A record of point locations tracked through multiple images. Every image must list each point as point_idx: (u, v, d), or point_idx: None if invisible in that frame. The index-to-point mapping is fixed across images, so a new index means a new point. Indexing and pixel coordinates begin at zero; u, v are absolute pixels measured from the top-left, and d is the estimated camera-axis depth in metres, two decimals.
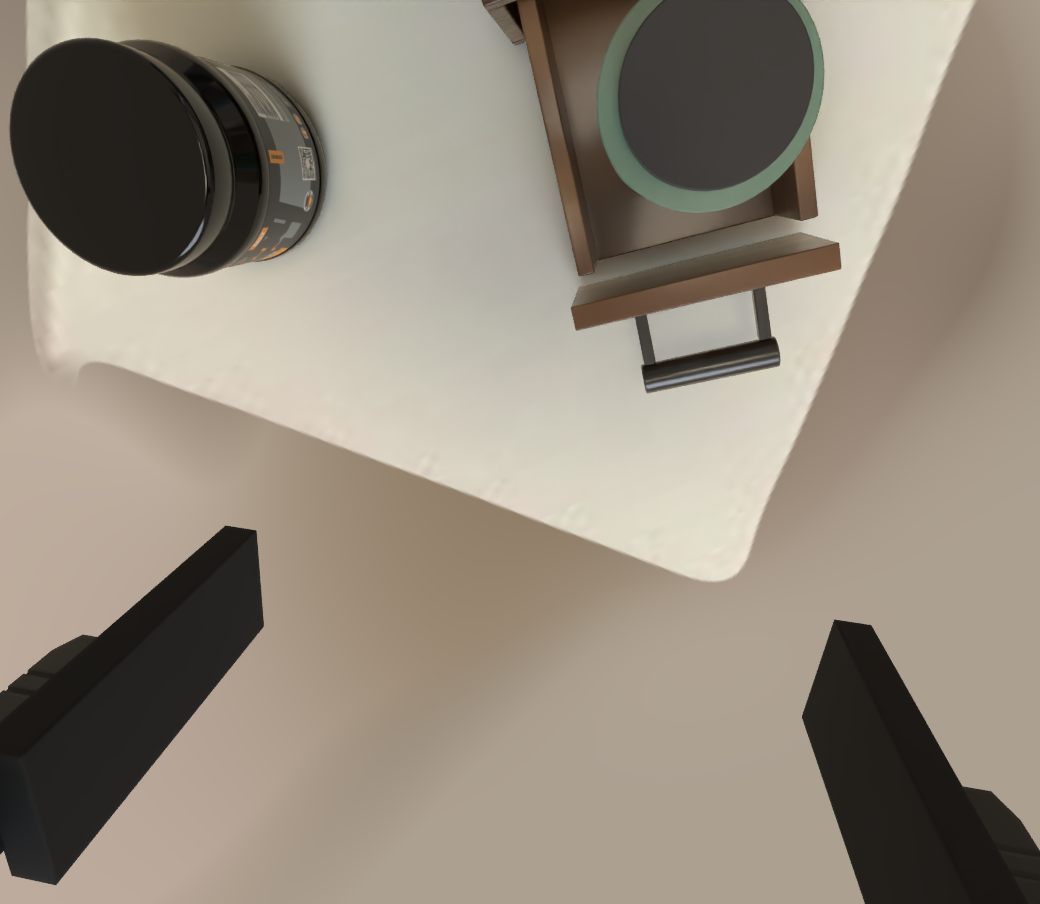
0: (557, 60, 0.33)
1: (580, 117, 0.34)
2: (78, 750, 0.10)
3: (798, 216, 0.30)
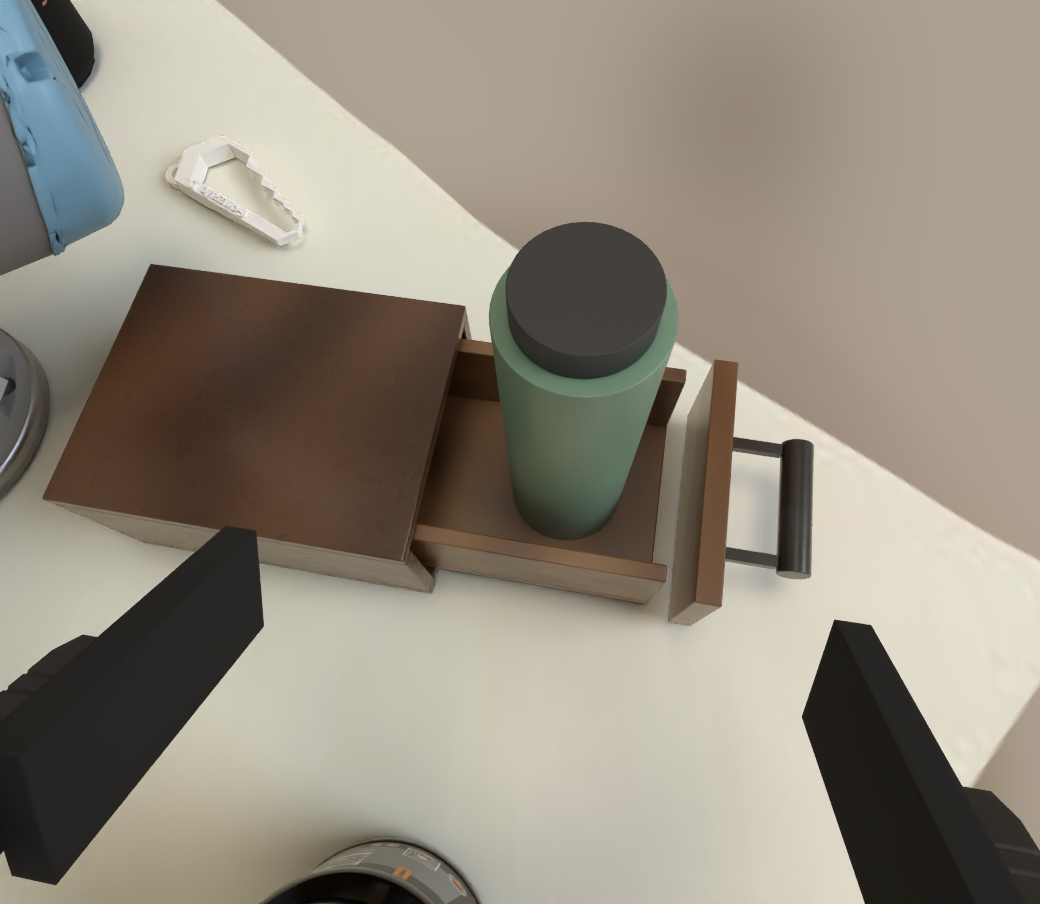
0: None
1: None
2: (79, 750, 0.10)
3: (680, 383, 0.33)
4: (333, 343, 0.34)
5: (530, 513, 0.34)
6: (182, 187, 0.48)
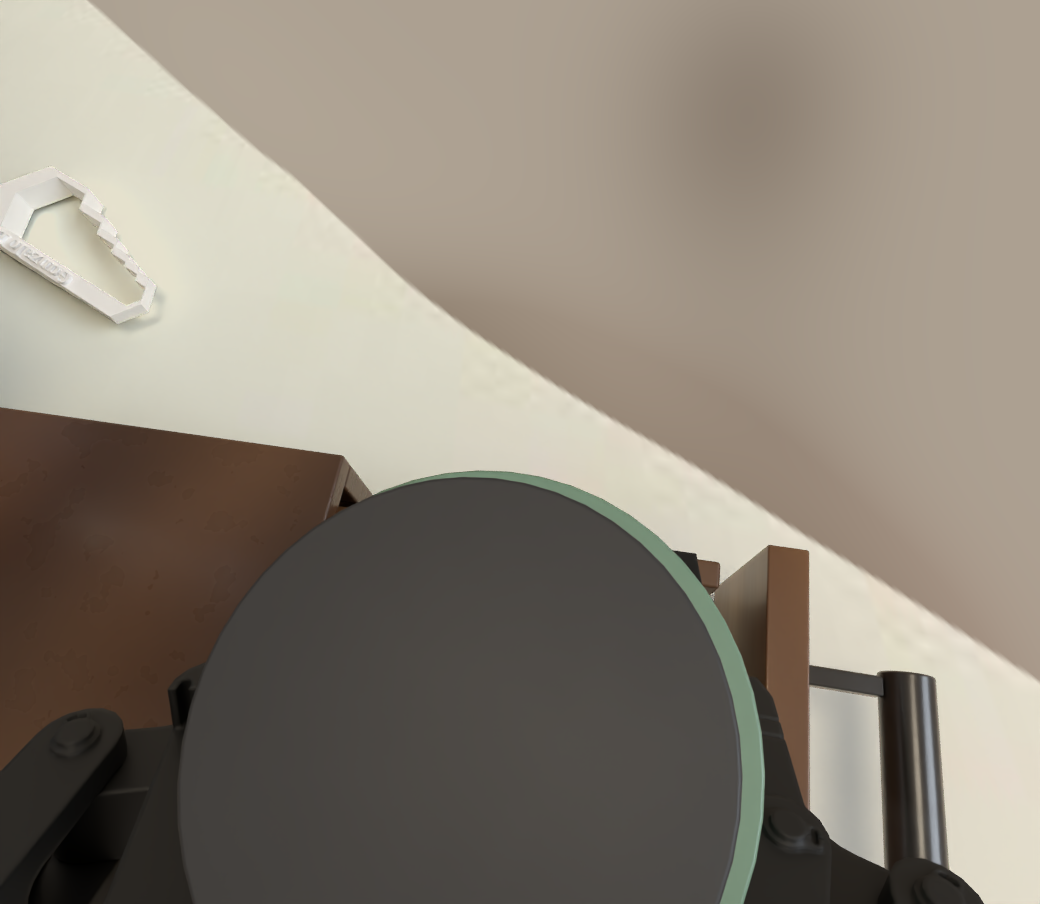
0: None
1: None
2: None
3: (711, 588, 0.19)
4: (114, 527, 0.20)
5: None
6: None
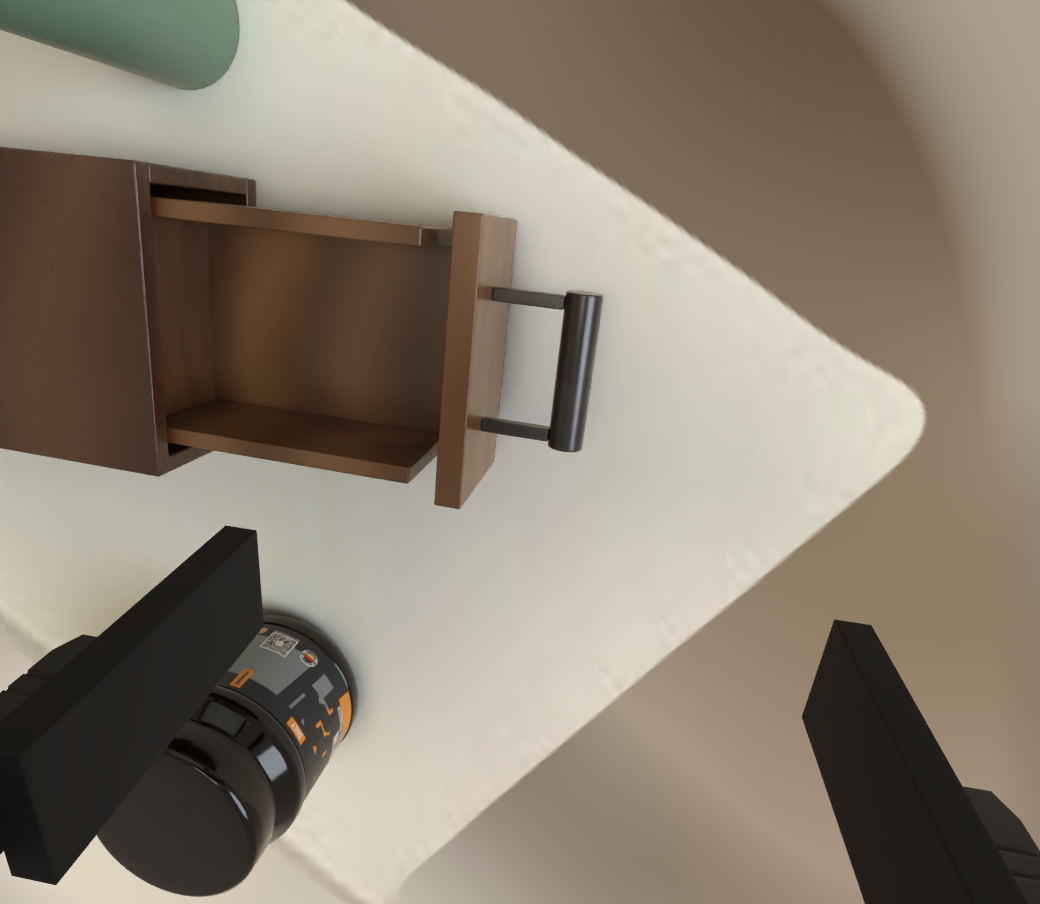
0: (267, 404, 0.36)
1: (316, 402, 0.35)
2: (79, 750, 0.10)
3: (416, 246, 0.26)
4: (12, 230, 0.28)
5: None
6: None
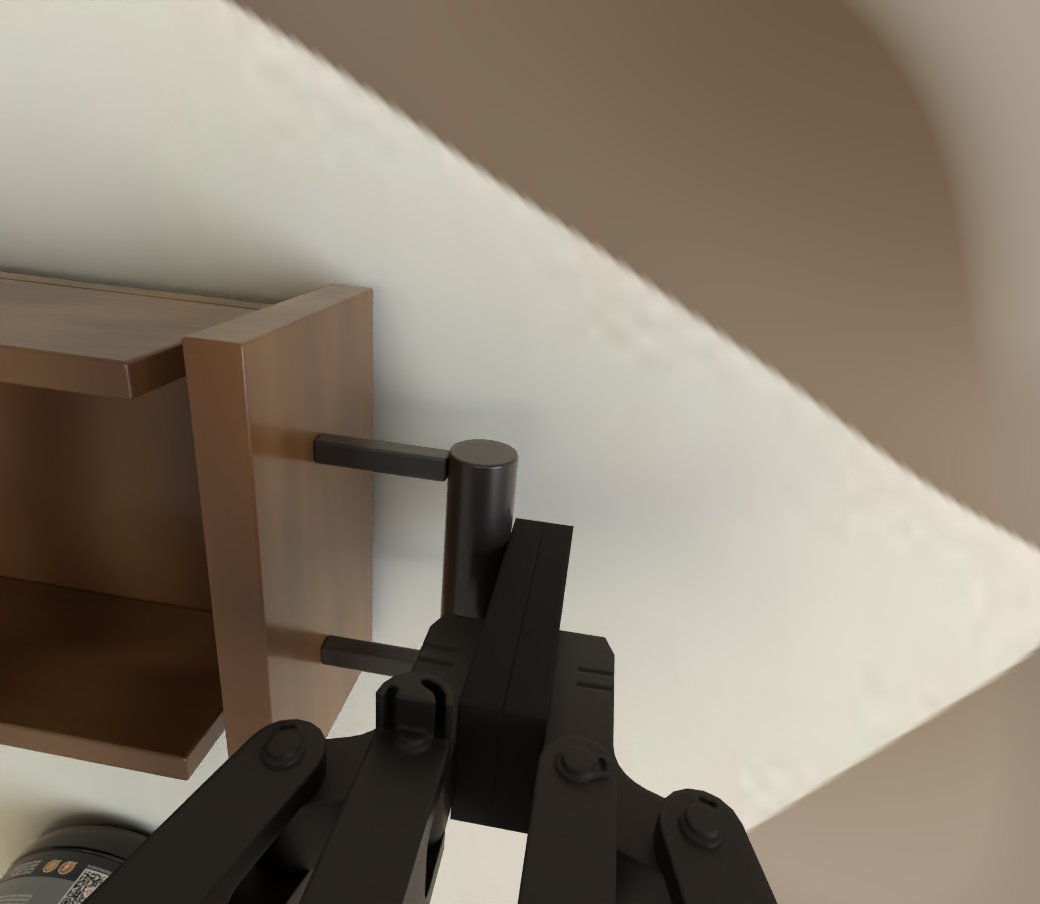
0: (4, 574, 0.22)
1: (79, 572, 0.22)
2: None
3: (125, 398, 0.13)
4: None
5: None
6: None
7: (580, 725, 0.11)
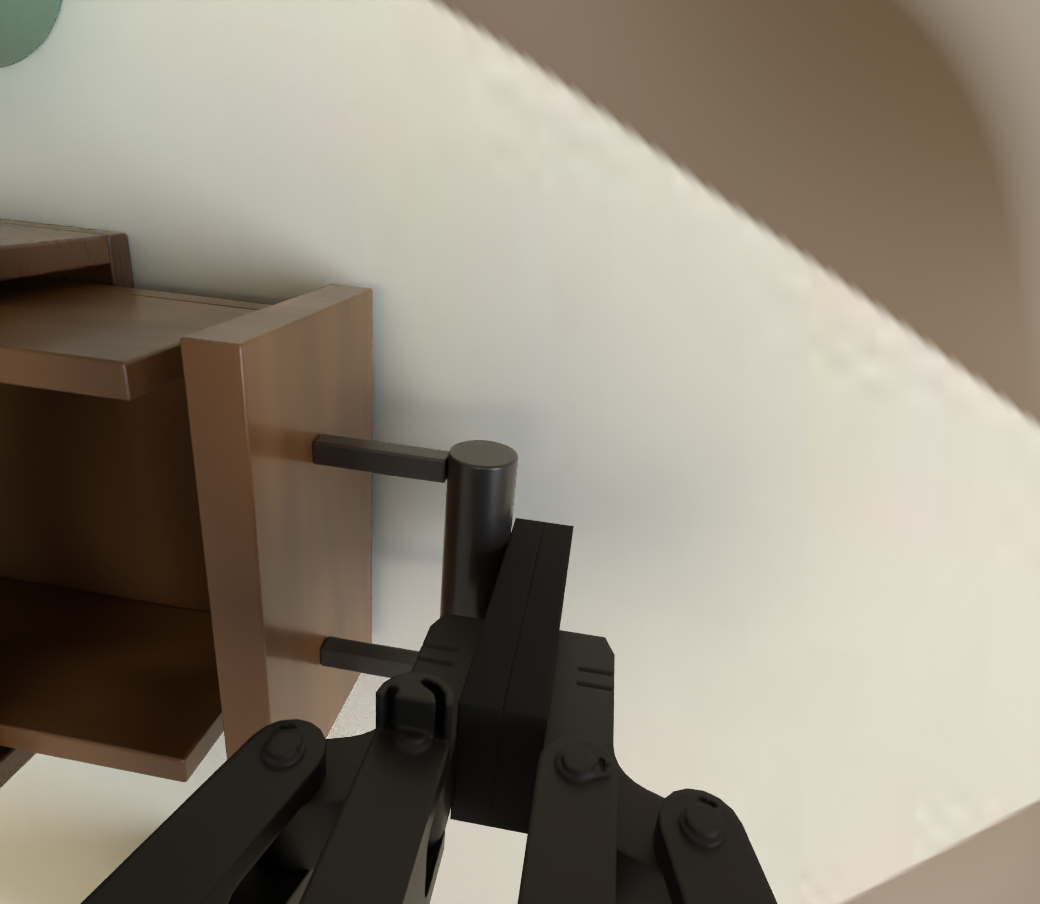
0: (3, 574, 0.22)
1: (78, 573, 0.22)
2: None
3: (123, 400, 0.13)
4: None
5: None
6: None
7: (580, 725, 0.11)
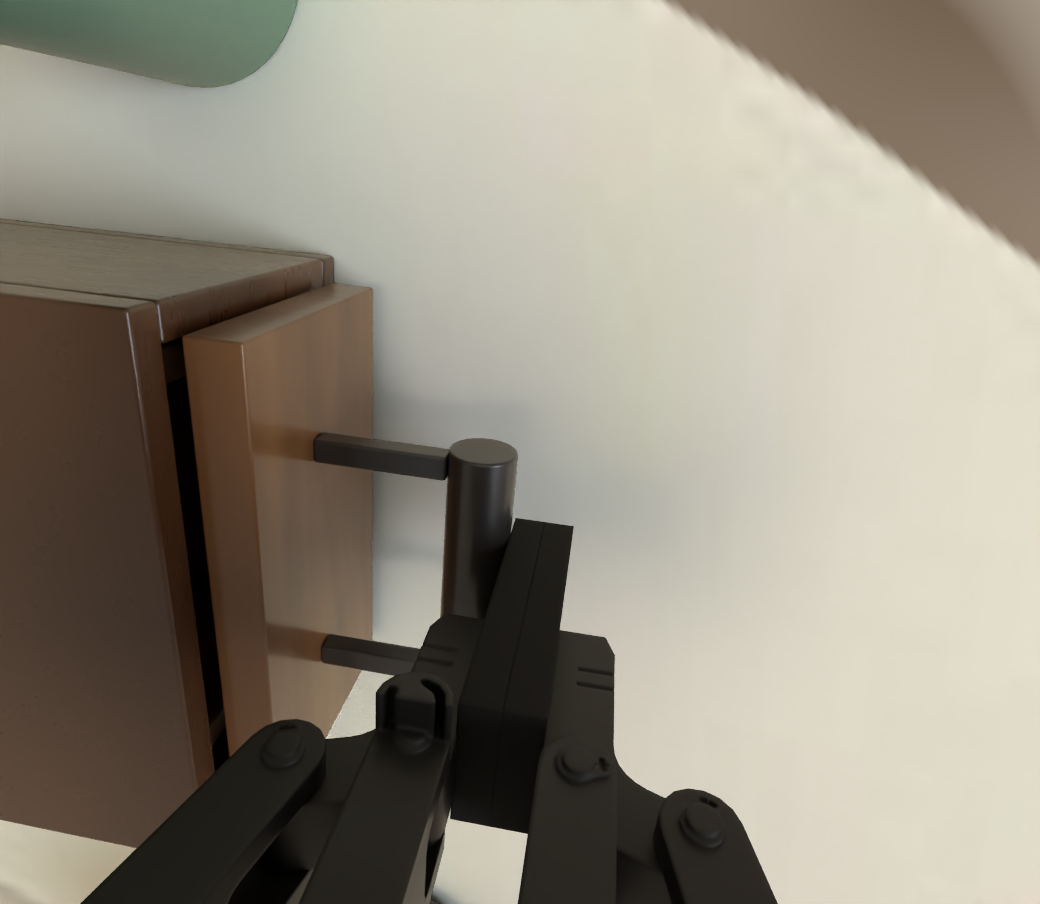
0: None
1: None
2: None
3: None
4: None
5: None
6: None
7: (580, 725, 0.11)
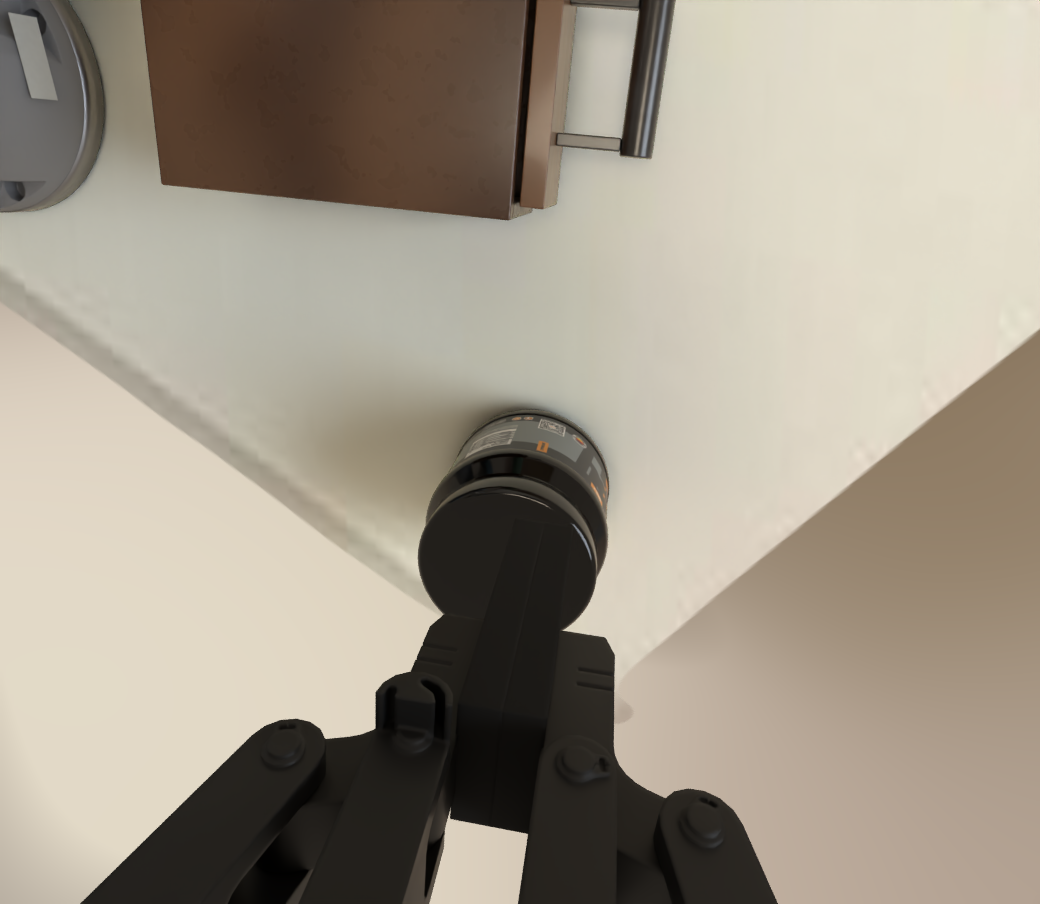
0: None
1: None
2: None
3: None
4: None
5: None
6: None
7: (580, 725, 0.11)
